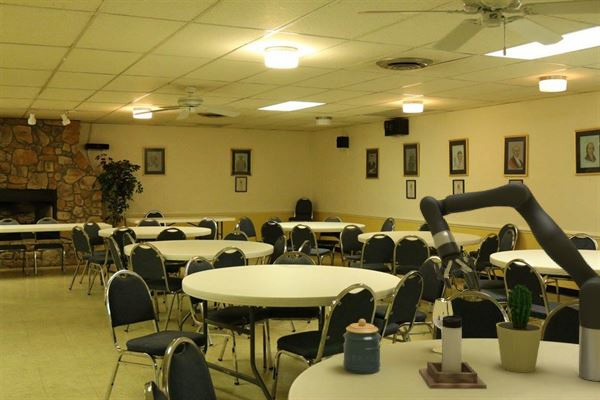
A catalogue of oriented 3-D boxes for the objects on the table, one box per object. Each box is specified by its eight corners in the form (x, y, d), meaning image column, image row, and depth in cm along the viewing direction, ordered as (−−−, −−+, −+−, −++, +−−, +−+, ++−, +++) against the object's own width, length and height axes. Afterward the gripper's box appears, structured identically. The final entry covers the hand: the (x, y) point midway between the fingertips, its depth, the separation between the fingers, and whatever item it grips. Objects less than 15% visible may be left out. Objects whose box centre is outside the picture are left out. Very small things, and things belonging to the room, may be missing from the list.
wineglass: (454, 353, 243) (455, 301, 242) (434, 353, 243) (435, 301, 243) (450, 348, 251) (450, 298, 250) (430, 348, 251) (431, 297, 250)
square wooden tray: (470, 371, 219) (471, 360, 219) (486, 388, 201) (486, 376, 201) (419, 371, 219) (419, 359, 219) (430, 388, 201) (430, 375, 201)
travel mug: (463, 375, 212) (464, 315, 211) (457, 380, 206) (458, 319, 206) (445, 372, 215) (446, 313, 215) (438, 377, 210) (439, 316, 209)
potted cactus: (508, 359, 236) (509, 278, 235) (548, 367, 225) (550, 283, 224) (487, 367, 225) (488, 283, 224) (528, 376, 214) (530, 288, 214)
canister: (335, 369, 221) (336, 318, 221) (358, 361, 231) (358, 313, 230) (365, 377, 213) (365, 324, 212) (387, 369, 222) (388, 318, 222)
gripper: (429, 246, 230) (444, 287, 223) (466, 237, 232) (482, 277, 224) (426, 253, 237) (440, 294, 230) (462, 245, 238) (478, 284, 231)
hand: (461, 285), depth 227 cm, fingers open, 8 cm apart
